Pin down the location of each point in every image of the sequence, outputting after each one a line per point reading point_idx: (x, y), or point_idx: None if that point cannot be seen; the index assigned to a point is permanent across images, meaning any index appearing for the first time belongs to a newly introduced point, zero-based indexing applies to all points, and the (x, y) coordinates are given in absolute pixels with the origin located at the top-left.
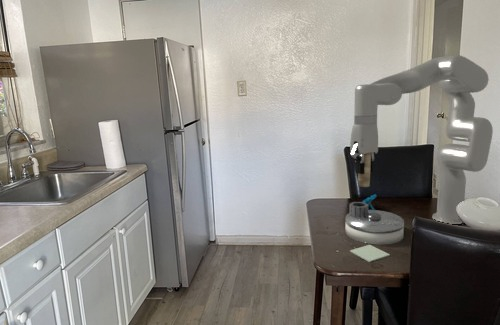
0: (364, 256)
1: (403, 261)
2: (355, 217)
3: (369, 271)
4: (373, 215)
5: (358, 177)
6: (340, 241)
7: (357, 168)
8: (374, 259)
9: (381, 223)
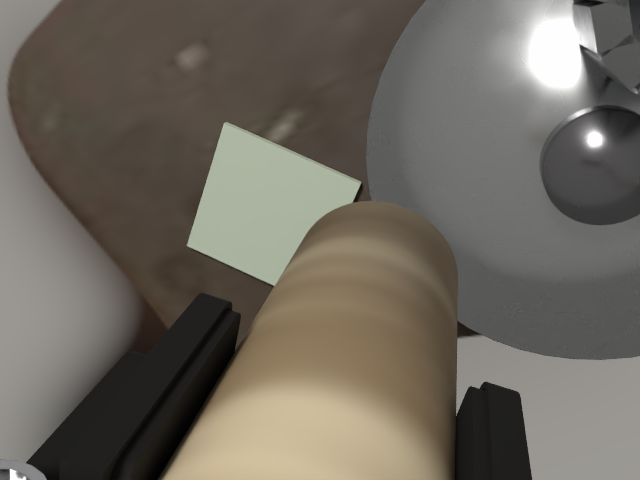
0: (211, 212)
1: None
2: (557, 11)
3: (120, 268)
4: (591, 170)
5: (287, 275)
6: (315, 5)
7: (101, 400)
8: (216, 258)
9: (515, 240)
